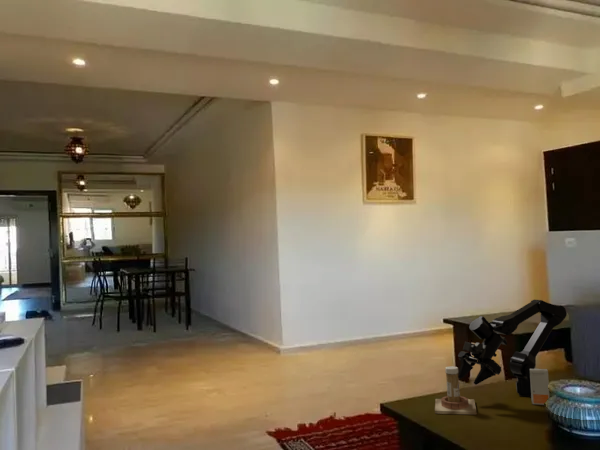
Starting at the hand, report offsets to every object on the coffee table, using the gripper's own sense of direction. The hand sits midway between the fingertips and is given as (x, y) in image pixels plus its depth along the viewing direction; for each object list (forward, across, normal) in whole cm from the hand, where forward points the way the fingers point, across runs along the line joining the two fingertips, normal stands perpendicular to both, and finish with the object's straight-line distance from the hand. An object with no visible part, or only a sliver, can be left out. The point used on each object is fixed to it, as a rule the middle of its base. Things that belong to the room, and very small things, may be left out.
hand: (466, 381), depth 193 cm
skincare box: (-10, +11, +23) cm, 27 cm away
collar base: (+10, 0, +2) cm, 11 cm away
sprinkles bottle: (+10, 0, +2) cm, 10 cm away
